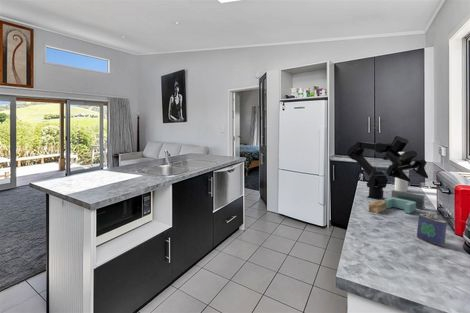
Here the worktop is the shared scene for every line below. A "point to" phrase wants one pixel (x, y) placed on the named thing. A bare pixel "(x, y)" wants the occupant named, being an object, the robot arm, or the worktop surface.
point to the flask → (431, 229)
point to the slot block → (401, 204)
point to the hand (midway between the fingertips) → (418, 179)
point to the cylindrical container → (401, 181)
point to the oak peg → (377, 206)
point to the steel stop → (410, 198)
